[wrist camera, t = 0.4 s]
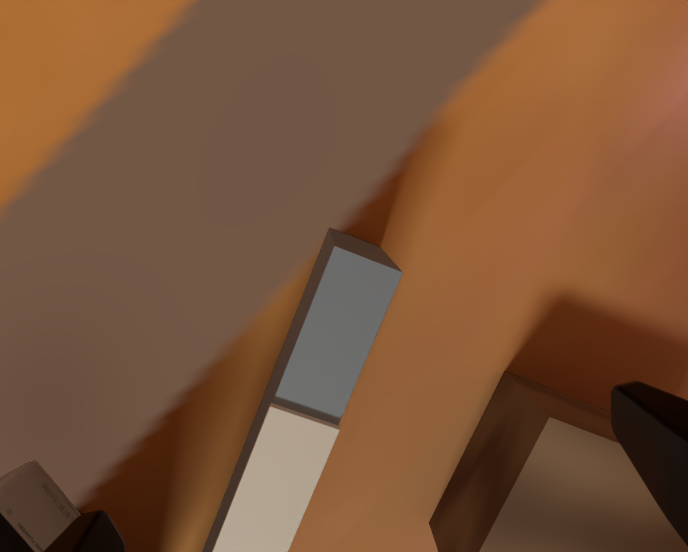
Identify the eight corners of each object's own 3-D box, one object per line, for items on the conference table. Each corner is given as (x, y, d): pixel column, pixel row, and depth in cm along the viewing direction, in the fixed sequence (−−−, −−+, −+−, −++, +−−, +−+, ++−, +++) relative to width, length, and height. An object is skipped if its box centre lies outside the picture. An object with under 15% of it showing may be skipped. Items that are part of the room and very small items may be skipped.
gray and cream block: (223, 630, 26) (194, 769, 20) (175, 617, 26) (131, 755, 20) (381, 247, 23) (405, 274, 17) (328, 227, 22) (333, 246, 16)
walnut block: (575, 569, 27) (633, 655, 22) (428, 519, 26) (454, 599, 21) (655, 428, 26) (735, 487, 21) (502, 369, 25) (549, 416, 20)
